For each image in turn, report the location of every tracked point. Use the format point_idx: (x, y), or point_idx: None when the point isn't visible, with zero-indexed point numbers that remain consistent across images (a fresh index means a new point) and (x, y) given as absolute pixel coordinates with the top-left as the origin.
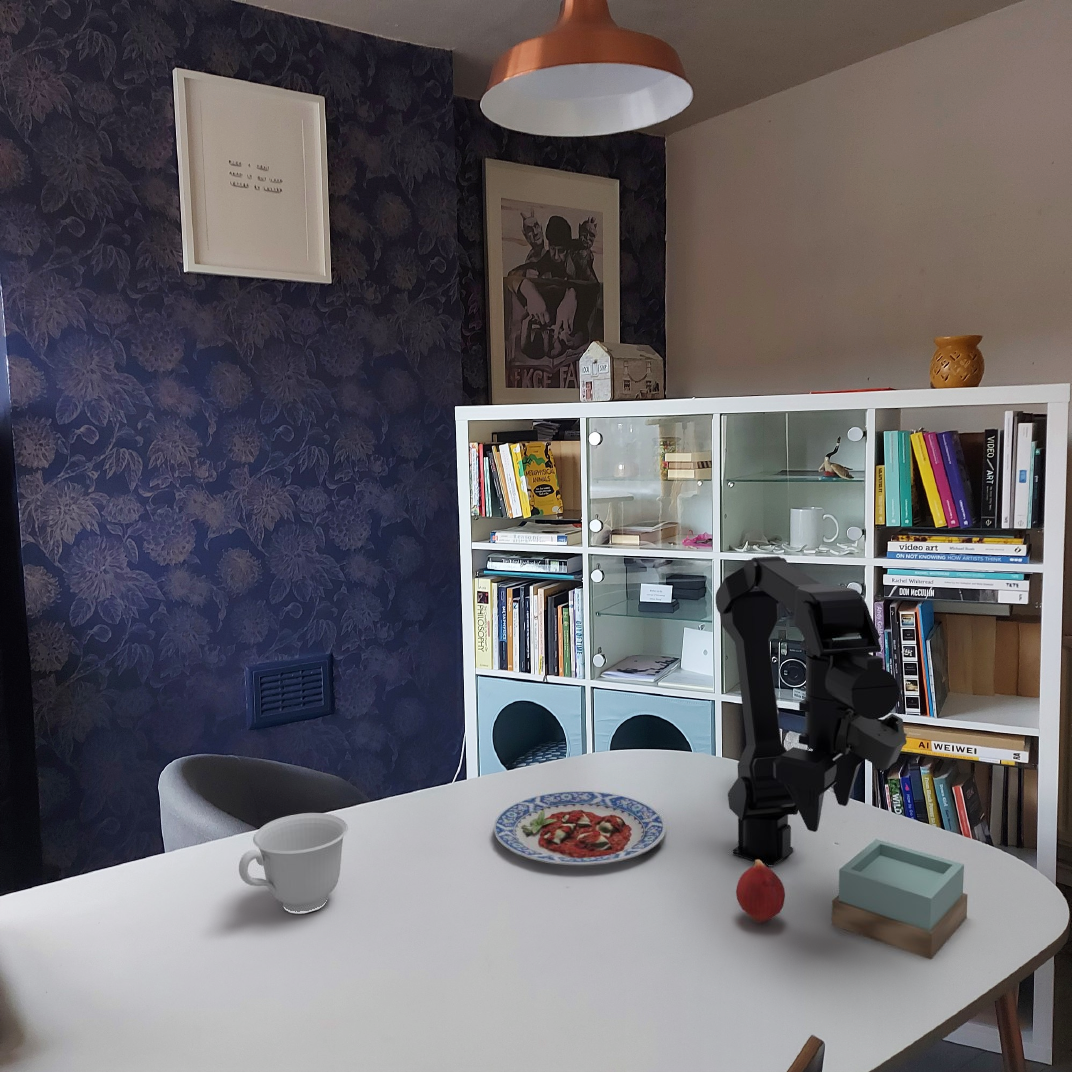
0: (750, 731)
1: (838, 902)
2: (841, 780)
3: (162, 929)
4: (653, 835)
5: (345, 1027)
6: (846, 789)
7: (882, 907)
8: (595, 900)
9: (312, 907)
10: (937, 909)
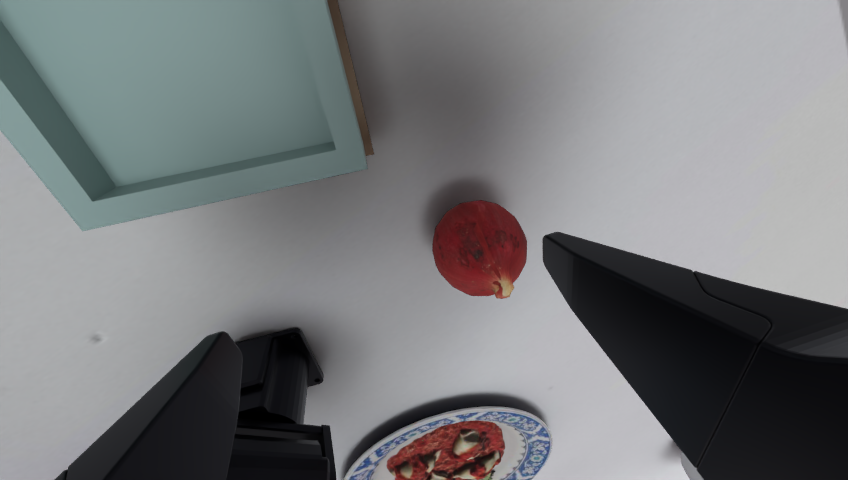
0: None
1: (369, 139)
2: (183, 476)
3: None
4: (403, 438)
5: (842, 294)
6: (188, 407)
7: (330, 15)
8: (557, 357)
9: None
10: None
